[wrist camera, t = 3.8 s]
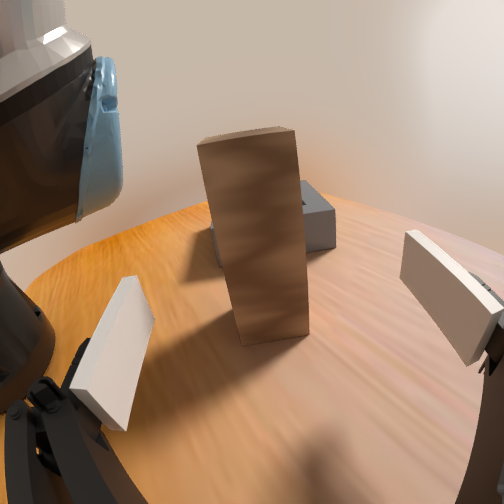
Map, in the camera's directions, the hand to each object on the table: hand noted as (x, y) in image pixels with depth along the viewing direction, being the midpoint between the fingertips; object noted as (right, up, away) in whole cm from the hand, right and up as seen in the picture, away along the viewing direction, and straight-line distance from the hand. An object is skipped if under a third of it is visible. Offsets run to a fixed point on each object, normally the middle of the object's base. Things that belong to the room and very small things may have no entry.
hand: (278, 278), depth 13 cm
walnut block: (0, -4, +9) cm, 10 cm away
